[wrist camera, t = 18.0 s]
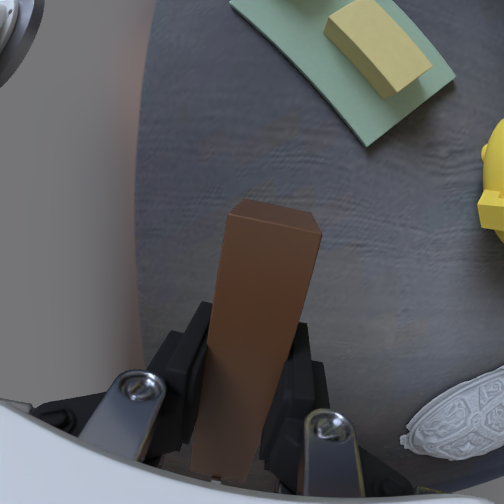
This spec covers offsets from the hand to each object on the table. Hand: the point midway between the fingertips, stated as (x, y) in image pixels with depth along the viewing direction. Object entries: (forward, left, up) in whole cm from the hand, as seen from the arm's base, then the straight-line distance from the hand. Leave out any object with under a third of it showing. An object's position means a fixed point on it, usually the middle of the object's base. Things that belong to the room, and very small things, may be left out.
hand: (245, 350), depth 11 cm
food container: (+35, +8, -15) cm, 39 cm away
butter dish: (-9, +16, -15) cm, 24 cm away
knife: (+3, -4, -1) cm, 5 cm away
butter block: (-6, +16, -14) cm, 23 cm away
